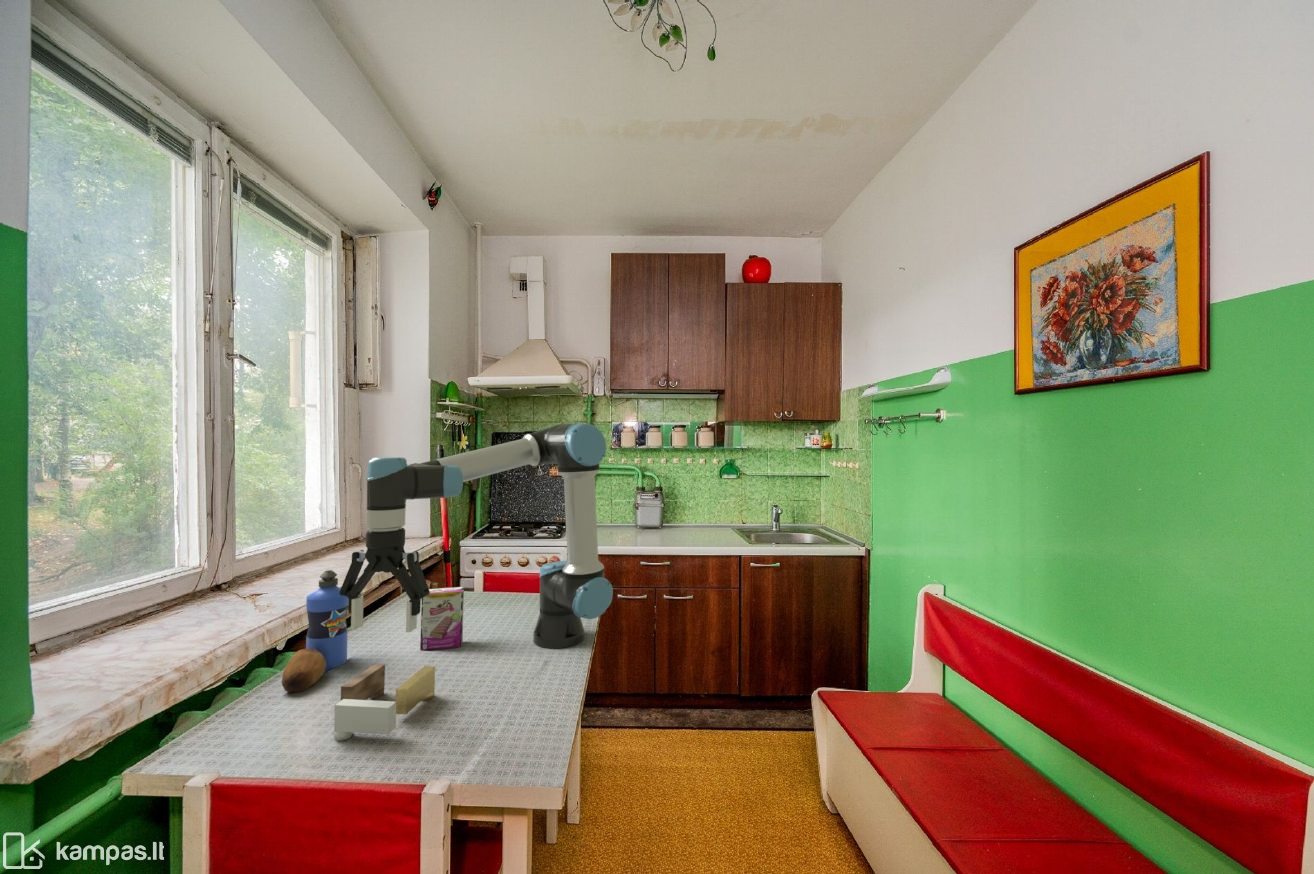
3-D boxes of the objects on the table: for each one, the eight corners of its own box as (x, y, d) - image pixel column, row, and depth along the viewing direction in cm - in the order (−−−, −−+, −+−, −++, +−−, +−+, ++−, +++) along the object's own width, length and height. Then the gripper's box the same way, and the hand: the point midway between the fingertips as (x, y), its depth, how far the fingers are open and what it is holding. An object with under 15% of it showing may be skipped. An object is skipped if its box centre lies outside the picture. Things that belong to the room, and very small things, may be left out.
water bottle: (355, 663, 133) (357, 569, 134) (319, 677, 125) (321, 577, 125) (333, 657, 137) (335, 565, 138) (296, 670, 129) (298, 573, 129)
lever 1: (374, 691, 116) (375, 662, 116) (387, 692, 115) (387, 663, 116) (338, 718, 104) (339, 686, 104) (352, 719, 104) (353, 687, 104)
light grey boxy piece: (330, 740, 96) (331, 705, 96) (341, 731, 99) (342, 698, 99) (387, 743, 95) (387, 708, 96) (396, 734, 98) (397, 700, 98)
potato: (304, 710, 115) (268, 698, 112) (315, 673, 127) (282, 662, 124) (325, 682, 116) (290, 670, 112) (334, 648, 128) (303, 636, 124)
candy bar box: (419, 652, 141) (420, 593, 141) (422, 645, 146) (423, 588, 146) (462, 647, 144) (463, 590, 145) (463, 641, 149) (464, 585, 149)
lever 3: (424, 694, 115) (424, 665, 115) (436, 694, 114) (437, 665, 114) (393, 721, 103) (394, 689, 103) (407, 722, 103) (408, 689, 103)
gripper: (447, 526, 111) (446, 625, 111) (346, 524, 113) (344, 621, 113) (429, 532, 104) (427, 637, 103) (321, 529, 106) (318, 633, 105)
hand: (384, 629), depth 108 cm, fingers open, 12 cm apart
